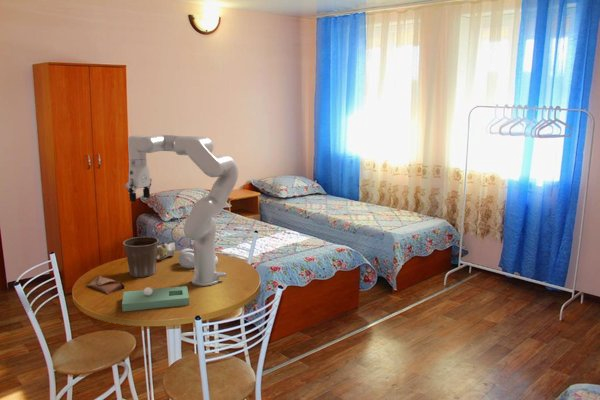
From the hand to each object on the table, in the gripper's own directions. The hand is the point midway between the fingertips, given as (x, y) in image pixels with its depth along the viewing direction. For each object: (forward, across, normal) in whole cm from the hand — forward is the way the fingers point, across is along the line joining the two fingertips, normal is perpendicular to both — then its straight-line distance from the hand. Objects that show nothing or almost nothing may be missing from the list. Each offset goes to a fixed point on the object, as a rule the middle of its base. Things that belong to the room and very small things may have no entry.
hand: (140, 199), depth 243 cm
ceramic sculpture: (+37, +25, +8) cm, 45 cm away
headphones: (+37, +23, -16) cm, 46 cm away
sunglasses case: (+37, -21, +6) cm, 43 cm away
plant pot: (+37, +1, +2) cm, 37 cm away
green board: (+36, -26, -26) cm, 52 cm away
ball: (+32, -28, -24) cm, 48 cm away
